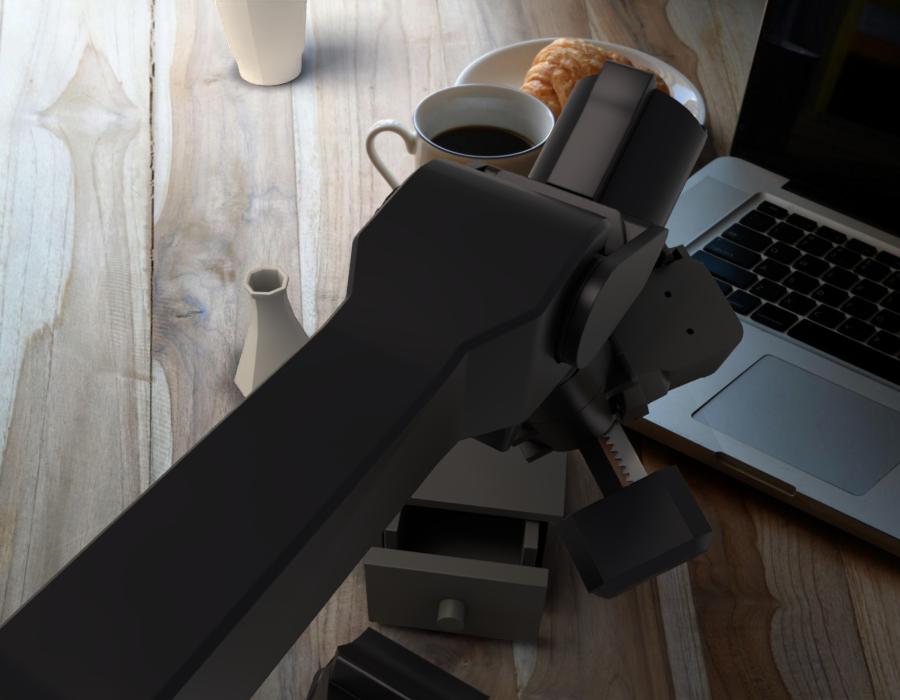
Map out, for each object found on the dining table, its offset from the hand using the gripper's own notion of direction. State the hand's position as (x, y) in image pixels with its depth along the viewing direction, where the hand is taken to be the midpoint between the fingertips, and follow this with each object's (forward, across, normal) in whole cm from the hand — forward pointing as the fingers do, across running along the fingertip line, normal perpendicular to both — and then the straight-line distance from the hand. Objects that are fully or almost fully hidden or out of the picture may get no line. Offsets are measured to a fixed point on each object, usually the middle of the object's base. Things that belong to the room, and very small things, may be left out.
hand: (582, 431), depth 53 cm
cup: (+31, +60, +12) cm, 69 cm away
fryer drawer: (+8, -2, +11) cm, 14 cm away
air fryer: (+11, +1, +9) cm, 14 cm away
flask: (+13, +18, +19) cm, 29 cm away
